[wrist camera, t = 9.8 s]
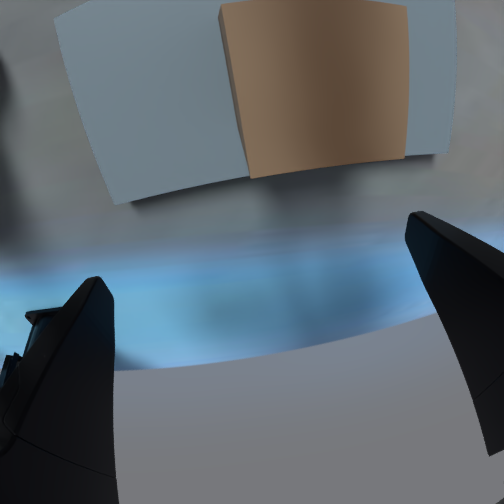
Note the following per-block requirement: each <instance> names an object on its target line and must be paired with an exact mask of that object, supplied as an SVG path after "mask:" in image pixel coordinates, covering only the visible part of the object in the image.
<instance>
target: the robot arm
mask: <svg viewBox="0 0 504 504" xmlns="http://www.w3.org/2000/svg"><path fill="white" fill-rule="evenodd" d="M405 241H406V244H407V247H408V249H409V251H410V253H411V256H412V258H413V260H414V263H415V265H416V268H417V270H418V272H419V275H420V277H421V280H422V282H423V284H424V286H425V289H426V291H427V293H428V295H429V297H430V299H431V301H432V303H433V305H434V307H435V309H436V311H437V313H438V315H439V317H440V320H441V322H442V324H443V326H444V328H445V331H446V333H447V335H448V337H449V340H450V342H451V344H452V347H453V349H454V352H455V354H456V356H457V359H458V361H459V364H460V367H461V369H462V372H463V374H464V377H465V380H466V383H467V385H468V388H469V391H470V394H471V397H472V399H473V403H474V407H475V409H476V413H477V416H478V419H479V422H480V426H481V430H482V433H483V437H484V441H485V444H486V449H487V452H488V455H489V456H491V455H494V454H496V453H498V452H500V451H502V450H504V253H503V252H501V251H499V250H498V249H496V248H494V247H492V246H491V245H489V244H487V243H485V242H483V241H481V240H480V239H478V238H476V237H474V236H472V235H470V234H468V233H466V232H464V231H463V230H461V229H459V228H457V227H455V226H453V225H451V224H449V223H447V222H445V221H443V220H441V219H438V218H436V217H434V216H432V215H430V214H428V213H426V212H424V211H417V212H412V213H410V215H409V217H408V222H407V227H406V232H405ZM25 317H26V319H27V320H28V321H29V322H30V323H31V324H32V325H33V326H32V329H31V332H30V335H29V338H28V341H27V344H26V347H25V350H24V354H23V357H21V356H19V354H17V353H16V352H14V355H13V356H12V355H6V358H5V361H4V364H3V368H2V371H1V374H0V504H119V499H118V490H117V480H116V470H115V455H114V434H113V383H114V359H115V329H114V298H113V296H112V294H111V292H110V291H109V289H108V287H107V286H106V284H105V283H104V281H103V280H102V278H101V277H99V276H95V277H91V278H87V279H86V280H85V281H84V282H83V283H82V284H81V286H80V287H79V288H78V289H77V290H76V291H75V292H74V294H73V295H72V296H71V297H70V298H69V300H68V301H67V302H66V303H65V304H64V305H63V307H58V308H51V309H44V310H36V311H29V312H26V314H25ZM496 504H504V498H503V499H502V500H500V501H499V502H498V503H496Z"/></svg>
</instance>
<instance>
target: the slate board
mask: <svg viewBox="0 0 504 504" xmlns="http://www.w3.org/2000/svg"><path fill="white" fill-rule="evenodd" d="M240 1H248V0H91V1H89V2H86V3H84V4H82V5H80V6H78V7H75V8H73V9H71V10H69V11H67V12H65V13H63V14H61V15H59V16H58V17H56V18H54V22H55V27H56V31H57V36H58V40H59V44H60V48H61V52H62V56H63V60H64V64H65V68H66V71H67V75H68V78H69V82H70V85H71V89H72V92H73V95H74V98H75V102H76V105H77V108H78V111H79V114H80V117H81V120H82V123H83V126H84V128H85V131H86V134H87V137H88V140H89V142H90V145H91V148H92V151H93V153H94V156H95V158H96V161H97V164H98V166H99V169H100V171H101V174H102V176H103V179H104V181H105V183H106V186H107V188H108V191H109V193H110V195H111V198H112V200H113V202H114V205H119V204H123V203H127V202H130V201H134V200H138V199H142V198H146V197H150V196H155V195H159V194H163V193H167V192H172V191H176V190H181V189H185V188H190V187H194V186H199V185H204V184H209V183H214V182H219V181H224V180H229V179H234V178H240V177H245V176H250V174H249V170H248V166H247V162H246V158H245V154H244V151H243V147H242V143H241V139H240V135H239V131H238V128H237V122H236V116H235V111H234V105H233V99H232V94H231V88H230V83H229V77H228V71H227V66H226V60H225V55H224V49H223V43H222V38H221V32H220V27H219V21H218V14H219V10H220V6H221V4H225V3H232V2H240ZM368 1H377V2H384V3H391V4H397V5H403V6H407V17H408V32H409V108H408V124H407V137H406V148H405V156H408V155H423V154H441V153H448V151H449V145H450V138H451V131H452V123H453V114H454V103H455V90H456V70H457V31H456V12H455V0H368Z"/></svg>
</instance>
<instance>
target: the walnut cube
mask: <svg viewBox="0 0 504 504" xmlns="http://www.w3.org/2000/svg"><path fill="white" fill-rule="evenodd" d="M218 21H219V27H220V32H221V38H222V43H223V49H224V55H225V60H226V66H227V71H228V77H229V83H230V88H231V94H232V99H233V105H234V111H235V116H236V122H237V128H238V131H239V135H240V139H241V143H242V147H243V151H244V154H245V158H246V162H247V166H248V170H249V174H250V178H251V179H253V178H258V177H264V176H270V175H276V174H282V173H289V172H295V171H302V170H309V169H316V168H323V167H331V166H339V165H347V164H355V163H364V162H374V161H384V160H395V159H404V158H405V148H406V137H407V124H408V108H409V32H408V17H407V6H403V5H397V4H391V3H384V2H377V1H368V0H248V1H240V2H232V3H225V4H221V6H220V10H219V14H218Z"/></svg>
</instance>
